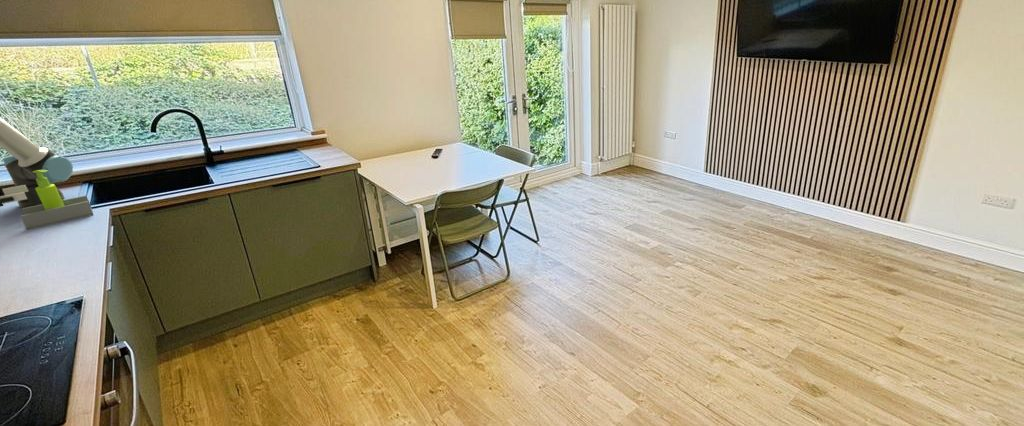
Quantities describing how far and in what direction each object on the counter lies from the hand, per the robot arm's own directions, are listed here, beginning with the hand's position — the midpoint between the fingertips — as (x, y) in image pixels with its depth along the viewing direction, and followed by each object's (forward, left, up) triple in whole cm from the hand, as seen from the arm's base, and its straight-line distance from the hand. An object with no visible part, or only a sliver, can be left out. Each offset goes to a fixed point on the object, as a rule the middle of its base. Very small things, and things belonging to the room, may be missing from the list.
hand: (26, 191), depth 180 cm
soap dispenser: (0, +6, -13) cm, 14 cm away
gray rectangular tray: (0, +6, -14) cm, 15 cm away
